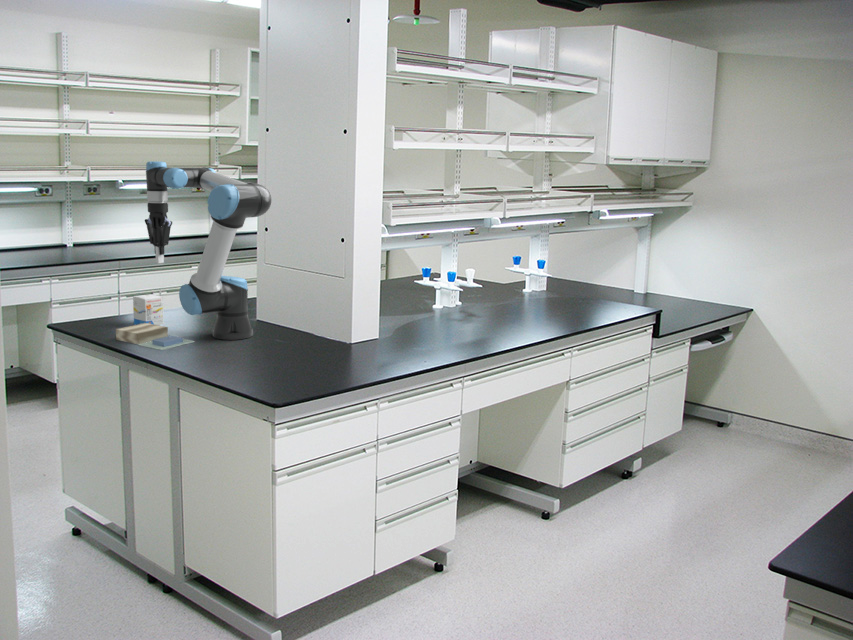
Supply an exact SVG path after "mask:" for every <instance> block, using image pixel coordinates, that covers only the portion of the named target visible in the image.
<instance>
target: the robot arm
mask: <svg viewBox="0 0 853 640" xmlns="http://www.w3.org/2000/svg"><path fill="white" fill-rule="evenodd" d="M167 166H168V165H167V162H165V161H157V160H156V161H154V160H153V161H146V165H145V175H146V177H145V179H146V201H147V203H146V204H147V212H148V213H149V216H148V218H147V219H146V218H145V219H144V223H145V225H146V228H147V229H146V231H147V233H148V234H147V235H148V238H149V244H150V245H153V247H154V254H155V263H156V264H164V263H165V246H168V245H169V241H170V235H171V234H170V233H171V228H172V225H173V221H172V220H169V219H168V215H167V213H169V203H168V201H169V197H168V195H169V194H168V188H169V189H172V190H173V189H178V190H179V189H182V188H183V189H185V188H186V189H192V188H197V189H201V190H204V191H208V192H209V194H208V198H207V205H208V206H207V210H208V213H209V215H210V218H211V220H212V224H211V228H210V231H209V234H208V237H207V240H206V242H205V246H204V249H203V253H202V255H201V259H200V262H199V264H198V267H197V271H196V272H195V273H193V274H191V276H190V279H189V282H188V283H184V284H183V285H181V286H180V288H179V291H178V298H179V302H180V305H181V308H182V309H183V311H184V312H185V313H187V314H188V315H190V316H195V315H196V316H201V315H204V314H205V315H206V314H211V313H216V319H215V321H214V326H213V328H212V337H214V338H215V339H218V340H228V341H229V340H230V341H231V340H233V341H234V340H235V341H236V340H244V339H248V338H251V337H253V335H254V331H253V327H252V325H251V322H250V318H249V314H248V313H249V311H248V310H249V307H248V305H249V304H248V302H249V301H248V300H249V297H248V294H249V293H248V290H249V288H248V282H247V281H248V280H246V279H245V278H244V277H238V276H231V275H223V272H224V269H225V266H226V263H227V262H228V261H227V260H228V257H229V255H230V253H231V248H232V245H233V243H234V239H235V237H236V234H237V232H238V231H237V230H239V229H241V228H243V226H244V224H245V221H246V219H247V218H248V219H249V218H257V217H261V216H263V215H265V214H266V213H267V212H268V211H269V209H270V207H271V205H272V195H271V193H270V191H269V190H268V188H267V187H266V186H264V185H262V184H258V183H256V182H252V181H251V182H244V181H242V180H238V179H236V178H233V177H229V176H226V175H223V174H220V173H218V172H216V171H215V169H214V168H211V167H167Z"/></svg>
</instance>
